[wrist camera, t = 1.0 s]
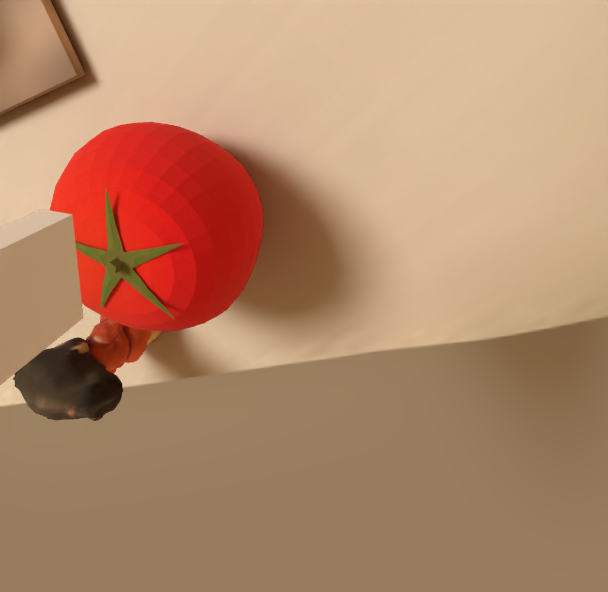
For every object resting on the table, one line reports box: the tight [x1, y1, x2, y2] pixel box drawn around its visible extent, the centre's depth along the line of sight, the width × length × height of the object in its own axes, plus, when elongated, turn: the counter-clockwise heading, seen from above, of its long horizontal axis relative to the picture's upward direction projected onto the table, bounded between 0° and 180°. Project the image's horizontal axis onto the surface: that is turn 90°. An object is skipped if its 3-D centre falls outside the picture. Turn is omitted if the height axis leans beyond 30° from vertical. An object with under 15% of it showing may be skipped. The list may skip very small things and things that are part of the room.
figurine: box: [13, 315, 161, 421], centre depth 37 cm, size 6×6×12 cm
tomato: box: [50, 122, 263, 331], centre depth 31 cm, size 13×11×14 cm
